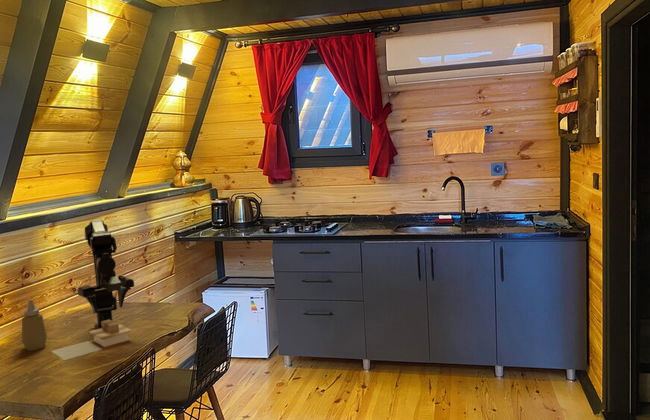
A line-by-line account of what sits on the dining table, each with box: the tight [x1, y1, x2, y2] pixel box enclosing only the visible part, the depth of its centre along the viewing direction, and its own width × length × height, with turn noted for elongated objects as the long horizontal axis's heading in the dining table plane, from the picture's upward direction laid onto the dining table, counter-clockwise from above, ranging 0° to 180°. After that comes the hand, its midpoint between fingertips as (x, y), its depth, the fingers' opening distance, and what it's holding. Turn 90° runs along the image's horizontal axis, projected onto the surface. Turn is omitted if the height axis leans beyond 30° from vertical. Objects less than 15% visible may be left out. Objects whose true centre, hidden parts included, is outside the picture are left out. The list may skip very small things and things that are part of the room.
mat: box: [51, 340, 103, 361], centre depth 203 cm, size 13×13×1 cm
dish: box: [93, 333, 129, 348], centre depth 211 cm, size 9×9×4 cm
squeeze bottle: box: [21, 299, 48, 351], centre depth 206 cm, size 8×8×18 cm
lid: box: [89, 320, 133, 340], centre depth 210 cm, size 11×11×4 cm
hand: (108, 310), depth 209 cm, fingers open, 9 cm apart
